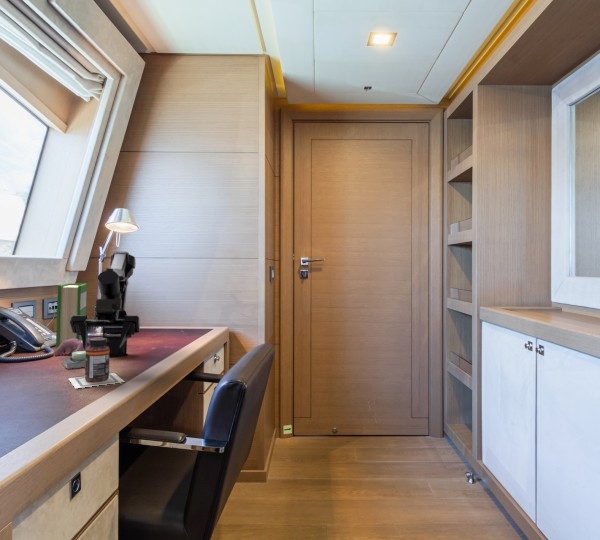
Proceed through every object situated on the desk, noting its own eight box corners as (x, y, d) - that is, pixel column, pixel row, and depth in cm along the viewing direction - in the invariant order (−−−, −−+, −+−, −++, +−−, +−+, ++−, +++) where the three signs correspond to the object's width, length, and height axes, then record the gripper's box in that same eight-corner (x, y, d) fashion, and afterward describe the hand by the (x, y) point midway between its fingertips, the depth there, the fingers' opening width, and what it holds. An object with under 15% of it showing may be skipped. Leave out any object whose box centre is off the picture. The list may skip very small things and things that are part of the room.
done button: (88, 357, 136) (88, 350, 136) (91, 360, 132) (91, 353, 132) (70, 359, 133) (70, 351, 133) (73, 362, 129) (73, 354, 129)
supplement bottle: (85, 378, 116) (86, 337, 116) (109, 376, 118) (110, 336, 118) (83, 383, 110) (85, 340, 110) (108, 381, 112) (109, 339, 113)
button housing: (93, 360, 138) (93, 354, 138) (99, 365, 131) (99, 360, 131) (62, 363, 133) (62, 357, 133) (66, 369, 126) (67, 363, 126)
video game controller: (83, 361, 144) (91, 341, 147) (74, 357, 140) (82, 337, 143) (61, 358, 147) (69, 339, 150) (51, 354, 143) (60, 335, 146)
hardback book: (78, 350, 153) (80, 285, 153) (55, 351, 150) (57, 285, 150) (84, 342, 169) (86, 283, 169) (64, 343, 167) (66, 283, 167)
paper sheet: (114, 374, 122) (114, 372, 122) (124, 382, 113) (124, 381, 113) (68, 379, 115) (68, 378, 115) (75, 389, 106) (75, 387, 106)
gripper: (72, 288, 122) (60, 331, 112) (140, 289, 127) (134, 331, 117) (78, 311, 130) (67, 354, 119) (142, 311, 135) (137, 353, 124)
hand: (101, 347), depth 120 cm, fingers open, 9 cm apart
